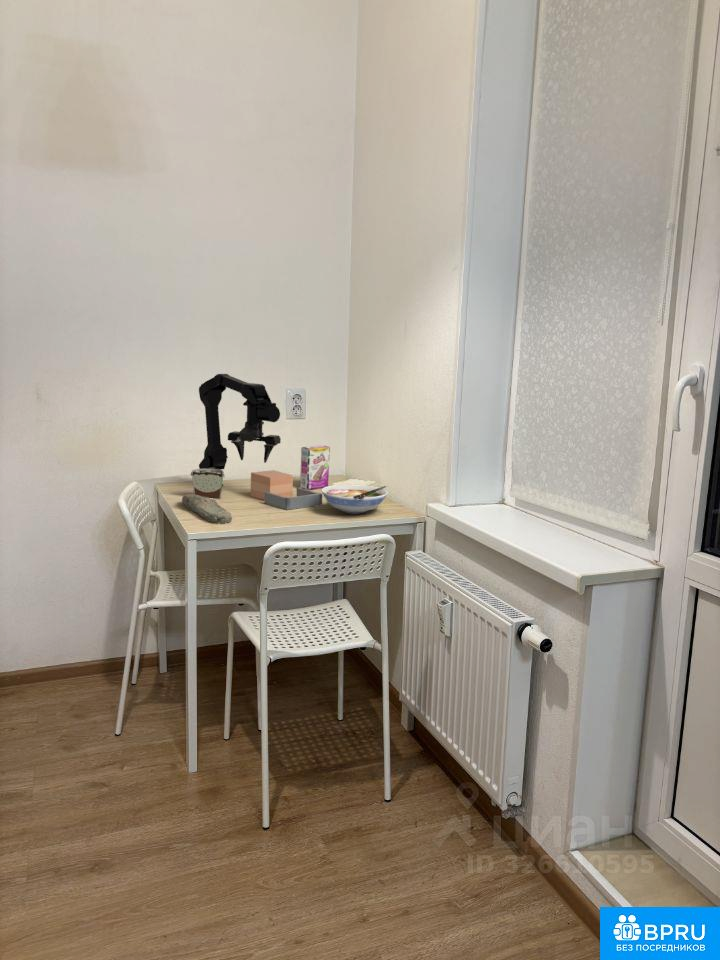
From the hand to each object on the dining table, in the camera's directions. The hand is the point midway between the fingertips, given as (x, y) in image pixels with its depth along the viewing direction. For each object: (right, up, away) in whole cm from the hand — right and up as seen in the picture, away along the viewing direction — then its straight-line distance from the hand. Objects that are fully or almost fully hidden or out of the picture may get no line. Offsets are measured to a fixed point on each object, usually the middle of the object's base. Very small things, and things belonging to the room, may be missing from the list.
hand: (253, 461), depth 286 cm
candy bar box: (+21, -10, +20) cm, 31 cm away
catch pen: (+16, -15, -11) cm, 24 cm away
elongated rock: (-12, -18, -28) cm, 35 cm away
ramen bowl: (+37, -18, -19) cm, 45 cm away
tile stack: (+7, -13, -1) cm, 15 cm away
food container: (-15, -13, -4) cm, 21 cm away
